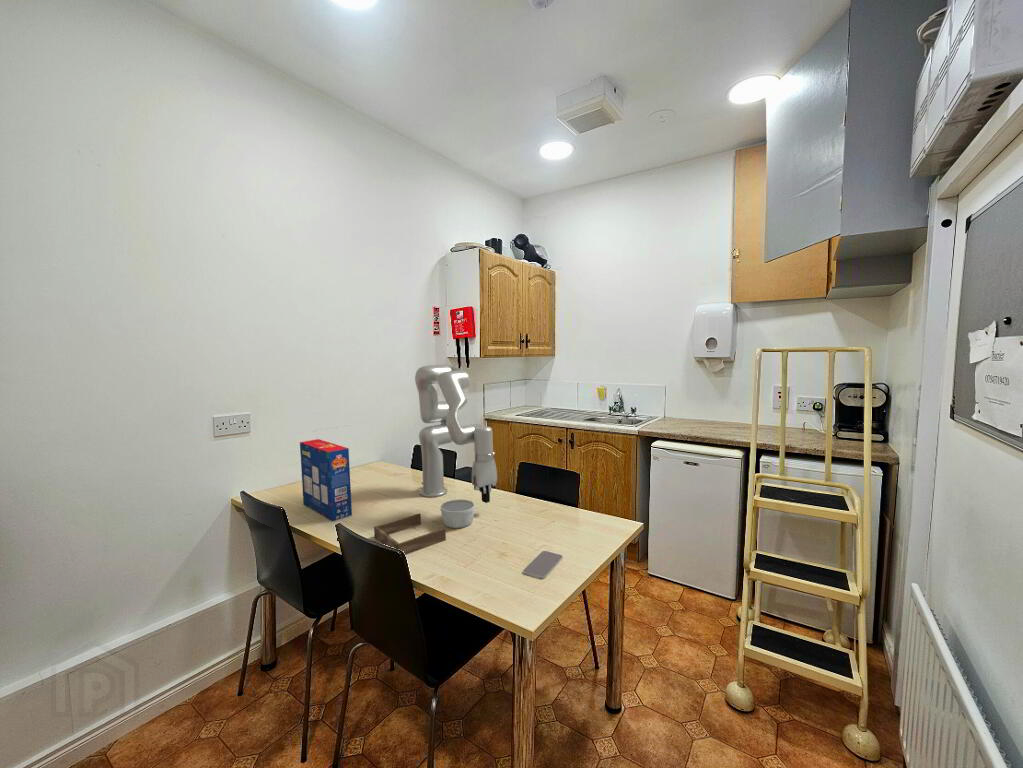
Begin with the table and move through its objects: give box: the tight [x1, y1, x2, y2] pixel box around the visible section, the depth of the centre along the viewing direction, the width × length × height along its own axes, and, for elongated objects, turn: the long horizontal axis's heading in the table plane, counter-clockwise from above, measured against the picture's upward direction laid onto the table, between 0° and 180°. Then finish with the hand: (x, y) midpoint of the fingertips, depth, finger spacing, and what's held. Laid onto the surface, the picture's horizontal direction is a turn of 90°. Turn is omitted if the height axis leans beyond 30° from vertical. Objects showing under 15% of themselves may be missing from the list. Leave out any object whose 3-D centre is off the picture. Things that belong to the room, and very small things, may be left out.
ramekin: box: [439, 499, 476, 529], centre depth 160 cm, size 13×13×7 cm
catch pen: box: [373, 512, 447, 555], centre depth 147 cm, size 19×18×4 cm
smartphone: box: [522, 550, 563, 580], centre depth 128 cm, size 7×1×15 cm
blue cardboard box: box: [299, 438, 353, 522], centre depth 174 cm, size 28×8×28 cm, turn 48°
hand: (485, 501), depth 168 cm, fingers closed
